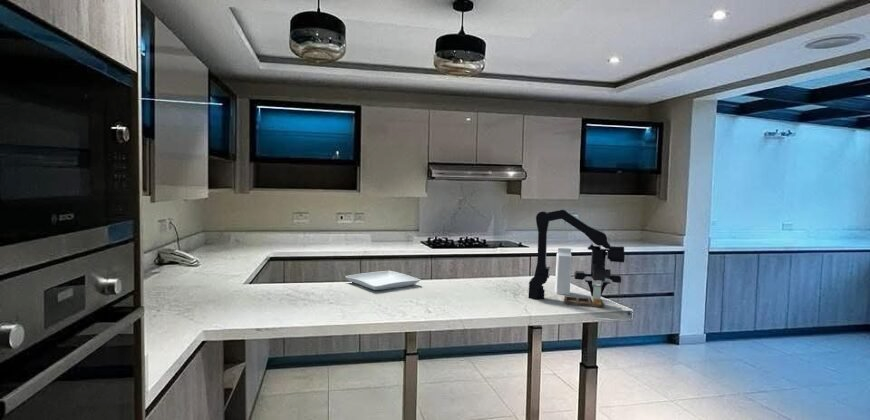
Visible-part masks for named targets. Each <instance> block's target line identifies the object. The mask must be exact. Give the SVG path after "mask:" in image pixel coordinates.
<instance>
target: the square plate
mask: <svg viewBox="0 0 870 420" xmlns="http://www.w3.org/2000/svg"><path fill="white" fill-rule="evenodd" d="M345 278H346V280H348V281H349V282H352V283H353V284H354V283H355V284H356V285H359V286H362V287H366V288H367V289H371V290H374V291H383V290H390V289H396V288H397V289H398V288H404V287H408V286H412V285H416V284H418V283H419V282H420V281H421V279H420V278H417V277H414V276H412V275H408V274H405V273H402V272H397V271H394V270H382V271H379V270H378V271H372V272H365V273H364V272H362V273H355V274H350V275H345Z"/></svg>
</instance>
